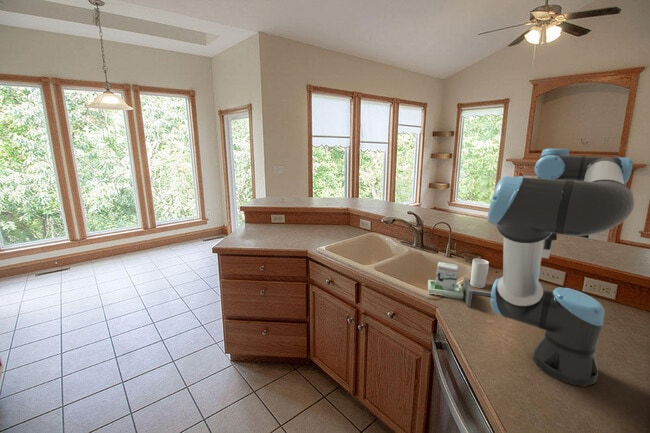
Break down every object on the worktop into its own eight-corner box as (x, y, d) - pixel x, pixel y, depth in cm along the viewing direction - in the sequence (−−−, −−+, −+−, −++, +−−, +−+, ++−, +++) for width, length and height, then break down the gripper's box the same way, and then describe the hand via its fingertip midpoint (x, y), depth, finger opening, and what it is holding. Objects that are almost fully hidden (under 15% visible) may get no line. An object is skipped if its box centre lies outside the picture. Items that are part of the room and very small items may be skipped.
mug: (479, 289, 138) (482, 265, 135) (466, 283, 144) (469, 260, 141) (492, 284, 143) (496, 261, 140) (479, 279, 149) (483, 256, 146)
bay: (503, 311, 120) (506, 295, 118) (467, 306, 123) (469, 290, 122) (495, 296, 132) (497, 281, 131) (462, 291, 136) (464, 277, 134)
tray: (462, 299, 129) (463, 293, 129) (428, 294, 133) (429, 289, 132) (459, 288, 139) (460, 283, 138) (427, 284, 142) (428, 279, 142)
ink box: (433, 290, 135) (436, 265, 132) (435, 285, 139) (437, 261, 136) (455, 294, 131) (458, 268, 129) (455, 289, 136) (458, 264, 133)
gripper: (578, 200, 93) (564, 264, 98) (545, 189, 116) (535, 241, 121) (549, 199, 95) (537, 262, 100) (523, 188, 118) (514, 239, 123)
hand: (536, 251), depth 111 cm, fingers open, 13 cm apart
